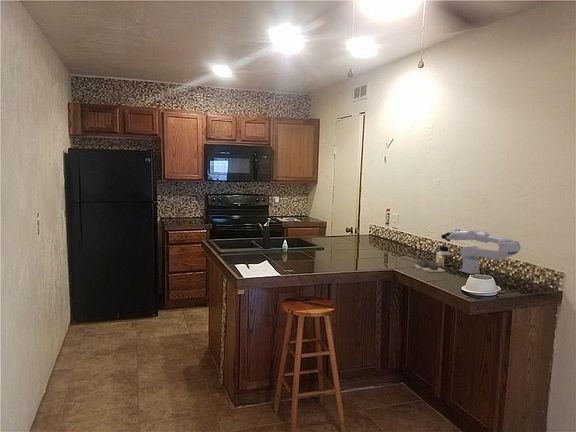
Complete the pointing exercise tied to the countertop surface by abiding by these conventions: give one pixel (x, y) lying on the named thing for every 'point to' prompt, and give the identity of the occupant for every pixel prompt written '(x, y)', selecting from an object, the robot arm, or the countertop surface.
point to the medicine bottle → (444, 255)
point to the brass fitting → (440, 262)
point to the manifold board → (428, 266)
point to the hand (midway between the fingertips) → (446, 235)
